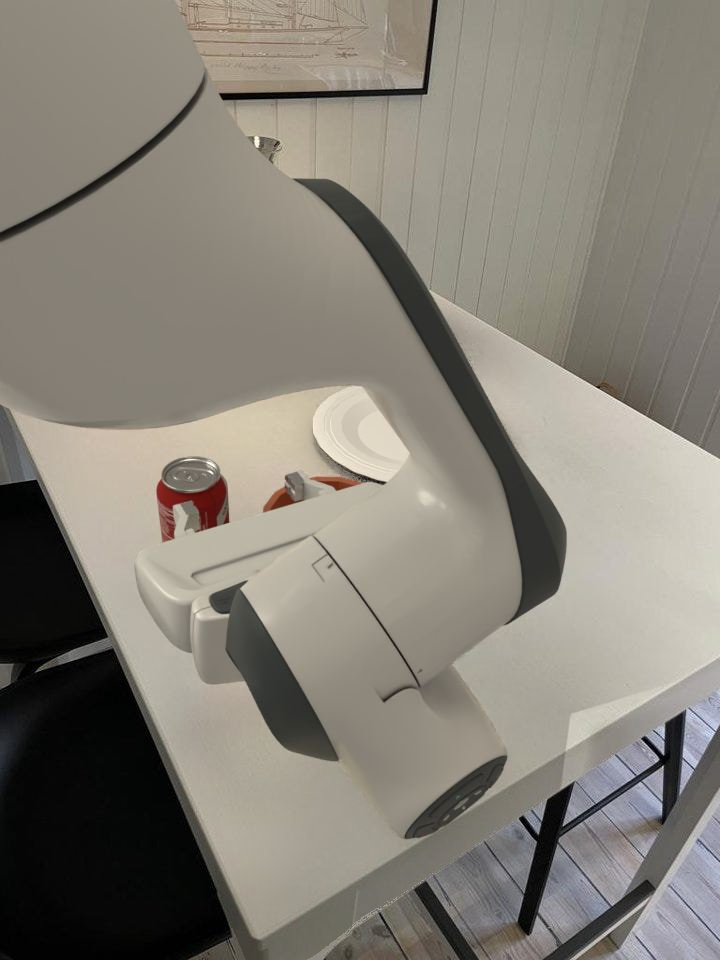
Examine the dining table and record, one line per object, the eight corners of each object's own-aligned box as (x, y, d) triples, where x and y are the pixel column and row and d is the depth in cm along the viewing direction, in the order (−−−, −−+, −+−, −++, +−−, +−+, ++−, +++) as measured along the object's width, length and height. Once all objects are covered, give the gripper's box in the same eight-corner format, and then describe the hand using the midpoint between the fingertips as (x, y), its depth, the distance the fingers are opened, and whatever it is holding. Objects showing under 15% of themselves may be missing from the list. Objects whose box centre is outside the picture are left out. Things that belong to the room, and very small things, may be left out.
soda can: (214, 594, 75) (207, 501, 68) (153, 577, 77) (140, 484, 70) (241, 551, 81) (238, 461, 73) (184, 536, 82) (175, 446, 75)
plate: (527, 488, 93) (530, 476, 92) (328, 504, 88) (329, 491, 87) (465, 386, 113) (467, 375, 111) (299, 394, 108) (299, 383, 106)
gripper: (452, 529, 53) (354, 431, 63) (173, 627, 44) (106, 495, 53) (439, 592, 57) (349, 491, 66) (180, 694, 48) (117, 560, 57)
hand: (239, 493), depth 60 cm, fingers open, 8 cm apart
